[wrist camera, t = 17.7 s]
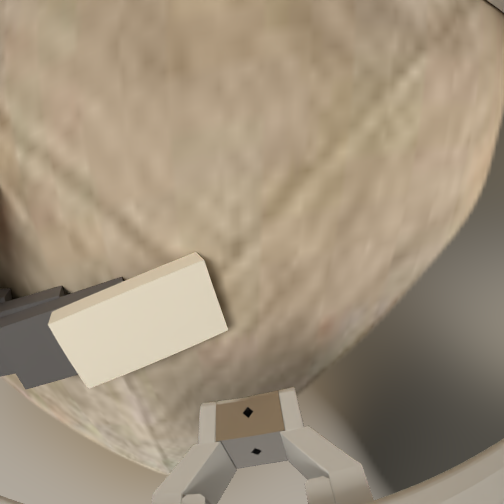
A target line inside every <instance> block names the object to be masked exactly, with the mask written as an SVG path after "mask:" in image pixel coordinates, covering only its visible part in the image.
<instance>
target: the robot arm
mask: <svg viewBox="0 0 504 504" xmlns="http://www.w3.org/2000/svg"><path fill="white" fill-rule="evenodd" d="M487 1H489V2H490V3H491V4H493V5H494V6H496V7H497V8H498V9H500V10H501V11H502V12H503V13H504V0H487ZM287 460H289V462H290V463H291V464H292V465H293V466H294V467H295V468H296V469H297V470H298V471H299V472H300V473H301V474H302V475H304V477H305V478H307V479H308V480H307V482H306V483H305V489H306V495H307V500H308V504H504V439H502V440H501V441H499V442H498V443H496V444H494V445H493V446H491V447H490V448H488V449H486V450H485V451H483V452H481V453H479V454H478V455H476V456H474V457H472V458H470V459H469V460H467V461H465V462H463V463H461V464H459V465H457V466H455V467H453V468H452V469H450V470H447V471H446V472H444V473H441V474H439V475H437V476H435V477H433V478H430V479H428V480H426V481H424V482H421V483H419V484H417V485H414V486H412V487H409V488H407V489H405V490H402V491H399V492H397V493H394V494H391V495H388V496H386V497H383V498H380V499H377V500H373V497H372V494H371V491H370V487H369V485H368V482H367V479H366V475H365V472H364V470H363V467H362V464H360V463H359V462H357V461H356V460H355V459H353V458H352V457H350V456H349V455H348V454H346V453H345V452H343V451H342V450H340V449H339V448H338V447H336V446H335V445H334V444H332V443H331V442H330V441H328V440H327V439H326V438H324V437H323V436H322V435H320V434H319V433H318V432H316V431H315V430H314V429H312V428H311V427H310V426H305V427H304V425H303V420H302V416H301V412H300V408H299V403H298V399H297V395H296V391H295V388H294V387H291V388H287V389H282V390H279V392H278V390H277V391H272V392H267V393H263V394H258V395H253V396H248V397H244V398H237V399H230V400H223V401H216V402H208V403H202V404H201V407H200V417H199V435H198V444H193V446H192V447H191V448H190V449H189V451H188V452H187V453H186V454H185V456H184V457H183V458H182V459H181V461H180V462H179V463H178V464H177V465H176V467H175V468H174V469H173V470H172V471H171V473H170V474H169V475H168V476H167V477H166V479H165V480H164V481H163V482H162V483H161V485H160V486H159V487H158V488H157V489H156V491H155V492H154V493H153V497H152V504H217V503H218V501H219V500H220V498H221V496H222V495H223V493H224V491H225V490H226V488H227V486H228V485H229V483H230V481H231V479H232V478H233V476H234V474H235V472H236V471H237V470H236V469H237V468H244V467H250V466H256V465H261V464H268V463H275V462H281V461H287ZM0 504H23V503H20V502H17V501H14V500H11V499H8V498H6V497H3V496H0Z"/></svg>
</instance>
